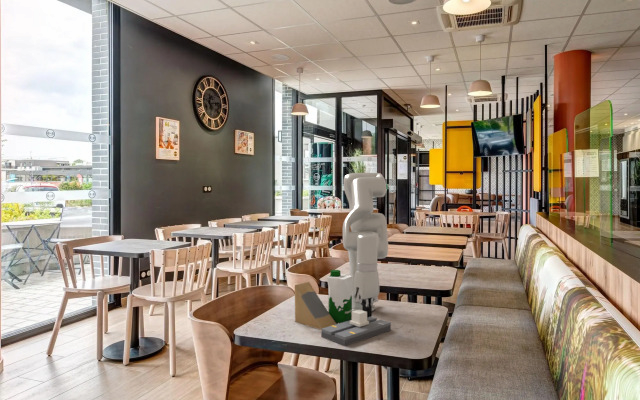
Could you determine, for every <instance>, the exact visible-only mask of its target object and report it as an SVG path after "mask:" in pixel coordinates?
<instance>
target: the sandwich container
mask: <svg viewBox="0 0 640 400" xmlns="http://www.w3.org/2000/svg"><path fill="white" fill-rule="evenodd" d="M328 311H329V310H328V309H327V308H326V306H325V305H324V302H323V301H322V300H321V299H320V296H319V295H318V294H317V293H316V291H315V289H314V288H313V286H312V284H311V282H310V281H307V282H302V283H299V284H295V285H294V322H295V323H297V324H300V325H303V326H307V327H311V328H315V329H318V330H321V329H322V328H325V327H329V326H332V325H336V324H337V323H335V321H334V320H333V318H332V317H331V315H330V314H329V312H328Z"/></svg>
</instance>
